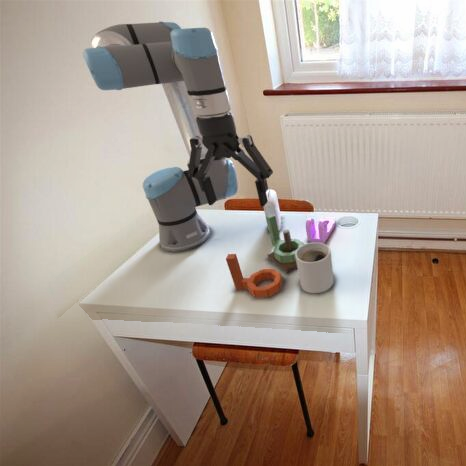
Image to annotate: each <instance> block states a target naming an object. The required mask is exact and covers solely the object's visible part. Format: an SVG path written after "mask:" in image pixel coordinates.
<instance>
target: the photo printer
mask: <svg viewBox="0 0 466 466" xmlns="http://www.w3.org/2000/svg"><path fill="white" fill-rule="evenodd" d="M266 195H267V200H268V202H267V203H266V204H265V206H262V207H263V212H264V215H265V216H264V217H266V216H267V215H269V214H273V215H275V217H276V222H277V226H278V231H280V230H281V227H282V215H281V214H282V213H281V209H280V205H279V204H280V203H279V199H278V195H277V192H276V191H275V190H274V189H268V190H267V192H266ZM265 220H266V222H267V219H266V218H265ZM266 224H267V223H266ZM267 226H268V224H267ZM267 230H269V228H268V227H267Z"/></svg>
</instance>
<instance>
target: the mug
mask: <svg viewBox="0 0 466 466" xmlns="http://www.w3.org/2000/svg"><path fill="white" fill-rule="evenodd" d="M295 257H296V263H297V268H296V269H297V273H298V279H299V283H300V284H299V285H300V287H301V289H302V290H303V291H304V292H307V293H309V294H321V293H324V292H326V291H328V290H329V289H330V288H331V287H332V286H333V285H334V280H335V279H334V272H333V262H332V253H331V248H330V246H329V245H328V244H325V243H319V242H307V243H305V244H304V245H302V246H301V247H299V248H298V249H297V251H296V253H295Z"/></svg>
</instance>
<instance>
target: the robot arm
mask: <svg viewBox="0 0 466 466" xmlns="http://www.w3.org/2000/svg"><path fill="white" fill-rule="evenodd" d="M213 35H214V34H213V32H212V30H210V28H208V27H189V28H188V27H187V28H182V27H181V26H180V25H179V24H178V23H176V22H172V21H159V22H141V23H120V24H115V25H111V26H109V27H106V28H103V29H102V30H100V31H98V32H97V33H95V34H94V36H93V37H92V39H91V44H90V45H91V47H88V48H84V49H83V51H82V55H83V58H84V61H85V64H86V66H87V68H88V71H89V73H90V75H91V77H92V79H93V81H94V83H95V85H96V87H97V88H99V89H100V90H101V91H122V90H124V89H132V88H138V87H147V86H153V85H161V86H162V88H163V91H164V94H165V97H166V99H167V101H168V105H169V107H170V109H171V112H172V115H173V118H174V120H175V123H176V125H177V128H178V130H179V133H180V135H181V138H182V141H183V143H184V147H185V148H186V152H187V154H188V156H189V159H188V161H187V163H186V165H187V168H188V169H186V170H183V169H182V168H181V167H179V166H171V167H165V168H162V169H159V170H156V171H155V172H153V173H151V174H149V175H148V176H147V177H145V179H143V182H142V188H143V191H144V195H145V198H146V200H147V201H148V203H149V205H150V207H151V210H152V212H153V214H154V217H155V219H156V222H157V223H158V232H159V233H158V234H159V235H158V236H159V237H158V238H159V244H160V246H161V248H162V249H163V250H164V251H167V252H172V253H174V252H175V253H178V252H185V251H189V250H191V249H194V248H196V247H198V246H199V247H200V245H202V244H203V243H205V242H206V241H207V240H209V238H210V236H211V230H210V227H209V226H208V224H207V223H206V222H205V220H203V218H202V217H201V216H200V214H199V213H198V210H197V207H201V206H204V205H207V204H208V206H213V205H214V204H215V203H216V202H218V201H222V200H226V199H227V198H232V197H233V196H235V195H237V193H238V190H239V189H238V187H239V185H238V184H239V183H238V176H237V172H236V168H235V166H234V163H233V161H232V160H234V161H237V162H238V163H239V164H240V165H241V166H242V167H244V168H245V169H246V170H247V171H248V172H249V173H250V174H251V175H252V176H253V177H254V178H256V180H255V181H254V183H255V188H256V192H257V198H258V201H259V205H260V207H263V206H265V204H266V203H267V202H268V200H267V195H266V192H267V190H269V185H268V181H267V179H269V178H270V177H271V176H272V175H273V174H274V171H273V169H272V167H271V166H270V165H269V164H268V162H267V161H266V159H265V158H264V156H263V155H262V153H261V152H260V151H259V149H258V148H257V146H256V145H255V142H254V140H253V136H252V135H250V134H247V135H245V136H240V137H239V135H238V134H237V127H236V122H235V118H234V114H233V113H232V112H231V111H232V106H231V102H230V98H229V94H228V91H227V87H226V83H225V82H226V81H225V77H224V73H223V70H222V65H221V62H220V56H219V52H218V46H217V44H216V42H215V41H216V40H215V38H214V36H213ZM240 145H241V147H242V148H244V149H245V151H246V152H245V151H244V149H242V148H241V147H240ZM246 153H247V154H246ZM230 158H232V159H230Z"/></svg>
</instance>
